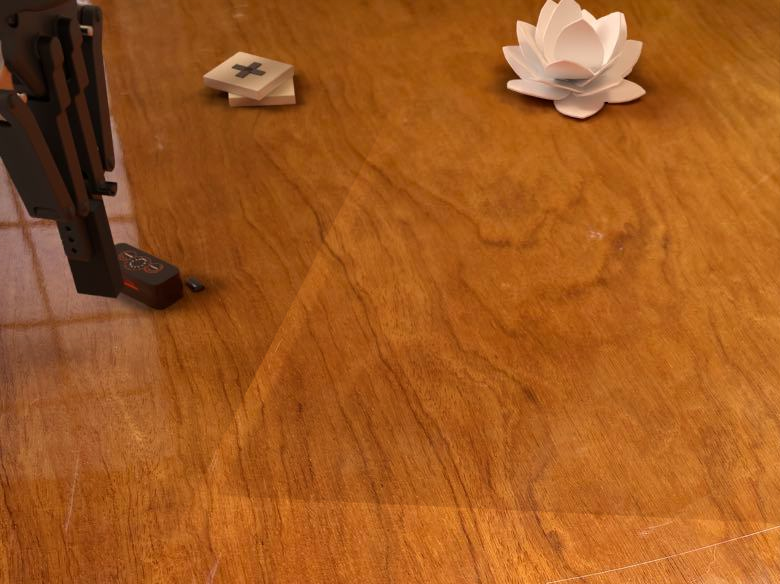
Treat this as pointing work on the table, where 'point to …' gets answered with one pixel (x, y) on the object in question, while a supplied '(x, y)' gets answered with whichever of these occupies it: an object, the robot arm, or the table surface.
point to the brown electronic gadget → (152, 278)
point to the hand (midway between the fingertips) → (101, 289)
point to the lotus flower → (574, 59)
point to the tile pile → (253, 81)
